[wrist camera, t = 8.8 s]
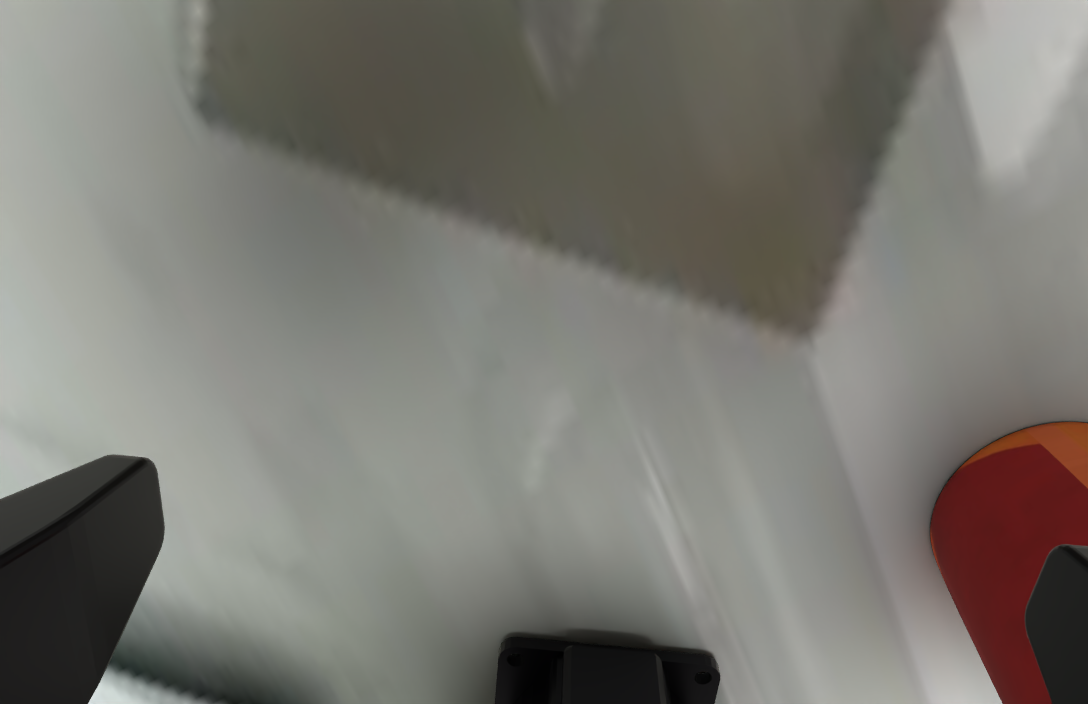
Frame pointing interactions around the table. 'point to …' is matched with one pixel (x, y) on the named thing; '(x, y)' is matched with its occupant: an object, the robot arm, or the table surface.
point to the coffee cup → (1010, 541)
